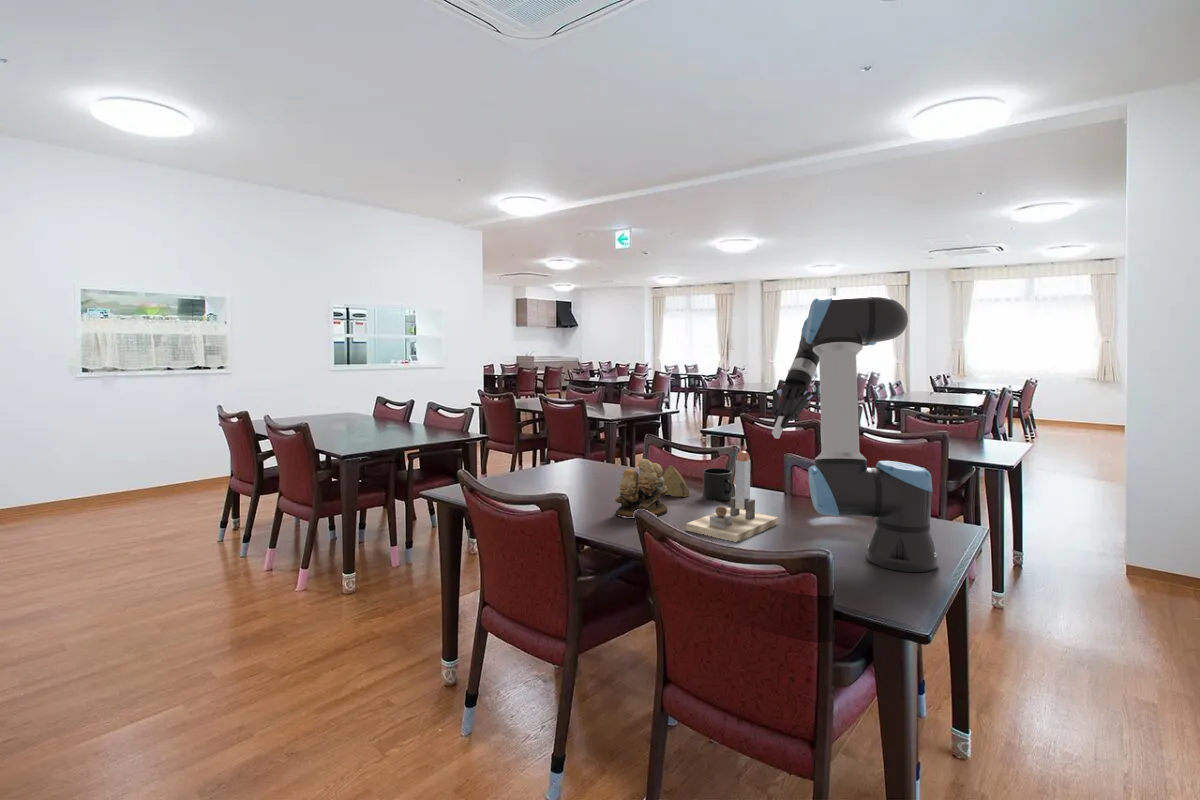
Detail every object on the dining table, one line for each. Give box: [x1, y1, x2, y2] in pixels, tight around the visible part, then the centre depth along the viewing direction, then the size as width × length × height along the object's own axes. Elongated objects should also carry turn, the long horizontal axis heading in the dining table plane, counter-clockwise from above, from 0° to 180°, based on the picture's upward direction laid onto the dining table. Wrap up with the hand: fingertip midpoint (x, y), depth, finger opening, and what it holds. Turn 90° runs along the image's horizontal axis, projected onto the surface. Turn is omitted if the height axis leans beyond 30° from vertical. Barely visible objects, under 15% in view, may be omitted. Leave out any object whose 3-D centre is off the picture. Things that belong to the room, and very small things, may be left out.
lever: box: [734, 450, 751, 511], centre depth 177 cm, size 4×4×17 cm
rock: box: [662, 464, 690, 498], centre depth 210 cm, size 11×9×10 cm
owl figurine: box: [614, 458, 668, 517], centre depth 189 cm, size 18×12×17 cm, turn 119°
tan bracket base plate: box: [686, 496, 779, 542], centre depth 174 cm, size 22×16×7 cm
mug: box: [702, 467, 733, 502], centre depth 205 cm, size 9×12×9 cm
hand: (775, 435), depth 188 cm, fingers closed
